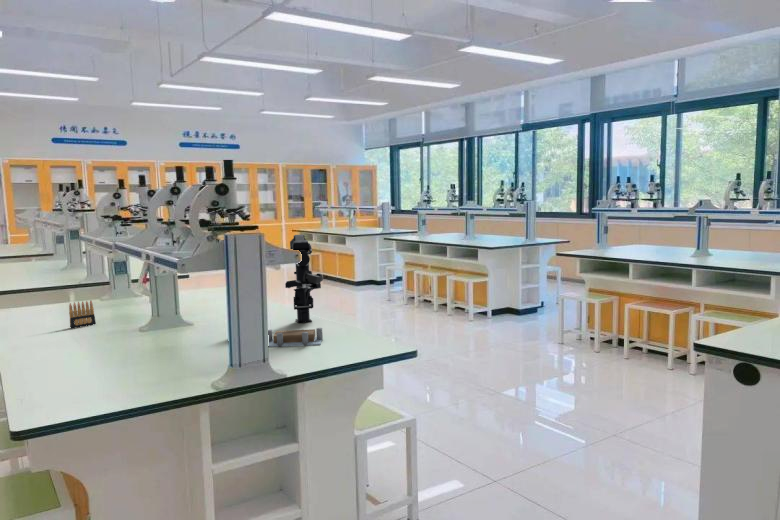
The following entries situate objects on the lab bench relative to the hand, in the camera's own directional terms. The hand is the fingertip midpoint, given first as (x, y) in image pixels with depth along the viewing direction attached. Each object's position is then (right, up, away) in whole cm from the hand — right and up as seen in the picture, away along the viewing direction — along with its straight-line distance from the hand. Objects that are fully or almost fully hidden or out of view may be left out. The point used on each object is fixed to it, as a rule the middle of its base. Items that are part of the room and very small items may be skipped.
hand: (304, 304), depth 249 cm
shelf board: (-2, -11, -9) cm, 15 cm away
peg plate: (-2, -14, -15) cm, 21 cm away
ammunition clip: (-109, -12, +24) cm, 112 cm away
